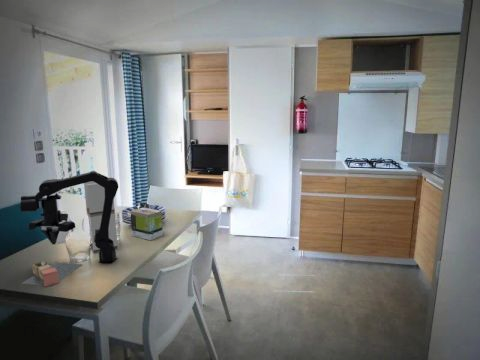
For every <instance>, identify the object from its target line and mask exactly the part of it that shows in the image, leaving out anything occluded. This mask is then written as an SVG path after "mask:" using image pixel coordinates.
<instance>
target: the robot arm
mask: <svg viewBox="0 0 480 360" xmlns="http://www.w3.org/2000/svg"><path fill="white" fill-rule="evenodd" d="M90 181H93V182H95V183H97V184H99V185H100V186H102V187H104V191H105V199H104V205H103V211H102V217H101V224H100V227H99V230H96V229H95V236H94V242H95V245H96V247H97V248H99V249H100V252H98V258H99V264H107V265H112V264H113V263H114V262H116V261H117V260H118V259H119V257H117V252H116V251H117V250H115V248H114V242H113V240H111V239H110V238H109V231H108V229H109V222H110V216H111V210H112V204H113V199H114V200H115V197H116V195H117V192H118V189H119V184H118V181H117V179H116V178H114V177H108V176H105V174H102V173H99V172H97V171H95V170H91V171H87V172H84V173H81V174H77V175H74V176H69V177H65V178H59V179H56V178H53V179H46V180H44V181H42V182H41V183H40V184H39V187H38V192H36V194H35V195H21V197H20V205H19V207H20V212H21V213H22V214H23V213H33V212H38V211H39V209H41V211H42V212H41V213H40V216H41V217H42V218H43V219H35V220H33V221H30V222H29V223H28V225H27V226H28V230H32V231H33V230H36V229H37V228H38V227H39V228H41V230H40V232H41V233H42V234H43V235H44V236H45V237H46V238H47V239H48V241H49V242H50V243H51V245H55V244H56V245H57V243H56V241H57V237H58V234H59V232H60V231H61V232H67V231H69V232H70V231H71V230H73V229H75V228H76V223H75V222H74V221H69V214H68V213H67V214H61V212H60V210H61V209H60V210H58V201H57V200H61V199H62V195H60V194H59V193H58V192H59V191H62V190H64V189H67V188H70V187H71V188H72V187H75V186H79V185H84V183H87V182H90ZM53 194H54V195H53ZM62 220H65V221H66V222H64V223H59V222H63V221H62ZM67 220H68V221H67ZM54 225H55V226H54Z"/></svg>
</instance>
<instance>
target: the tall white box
mask: <svg viewBox="0 0 480 360" xmlns="http://www.w3.org/2000/svg"><path fill="white" fill-rule="evenodd" d="M83 187H84V200H85V207H86V215H87V217H88V218H89V219H90V220H89V221H90V232H91V241H92V243H91V248H90V250H91V251H92V253H93V254H97V253H98V254H99V252H100V249H99V248H97V247H96V245H95V242H94V236H95V229H96V230H99V227H100V224H101V217H102V211H103V205H104V199H105V191H104V187H102V186H100V185H99V184H97V183H95V182H93V181H90V182H87V183H83ZM115 208H116V207H115V198H114V199H113V204H112V210H111V216H110V222H109V229H108V231H109V238H110V239H111V240H113V242H114V248H115V250H116V251H117V250H118V248H119V247H118V234H117V223H116V222H117V221H116V209H115Z"/></svg>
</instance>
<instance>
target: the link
mask: <svg viewBox="0 0 480 360" xmlns="http://www.w3.org/2000/svg"><path fill="white" fill-rule="evenodd" d="M43 261H45V263H46V264H45V265H42V266H41V262H43ZM50 265H51V264H50V262H48V261H47V260H42V261H38V262H35V263H32V264H31V266H32V267H31V269H32V274H34V275H36V276H37V277H38V276H39V277H41V278H42V279H43V274H42V273H41V271H43V270H47V269H51V268H52V267H51V266H50ZM43 280H44V279H43Z"/></svg>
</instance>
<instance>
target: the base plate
mask: <svg viewBox="0 0 480 360" xmlns="http://www.w3.org/2000/svg"><path fill="white" fill-rule="evenodd" d="M50 266H51V267H52V268H54V267H55V268H56V270H57V272H58V281H59V282H61V281H62V280H63V279H64V278H67V277H68V276H69V275H70V274H72V273H74V272H75V271H76V270H77V269H79V268H80V267H82V266H83V264H81V263H70V262H58V261H57V262H53V263H51V264H50ZM21 284H24V285H32V286H34V285H35V286H44V280H43V279H42V278H41V277H39V276H38V277H37V276H36V275H35V274H34V275H32V276H31V277H30V278H27V279H26V280H24V281H23V282H21ZM55 285H56V284H52V285H49V286H48V287H53V286H55ZM44 287H45V286H44Z"/></svg>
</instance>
